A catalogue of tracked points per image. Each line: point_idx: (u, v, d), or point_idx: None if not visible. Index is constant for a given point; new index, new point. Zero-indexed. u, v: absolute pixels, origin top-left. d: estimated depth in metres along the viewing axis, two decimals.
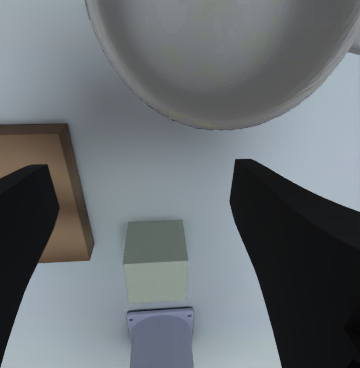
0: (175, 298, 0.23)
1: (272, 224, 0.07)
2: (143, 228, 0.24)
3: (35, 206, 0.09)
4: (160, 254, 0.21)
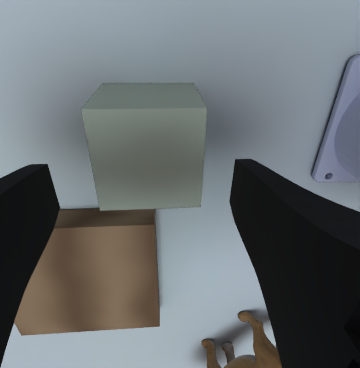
0: (197, 131, 0.11)
1: (272, 224, 0.07)
2: None
3: (35, 206, 0.09)
4: None
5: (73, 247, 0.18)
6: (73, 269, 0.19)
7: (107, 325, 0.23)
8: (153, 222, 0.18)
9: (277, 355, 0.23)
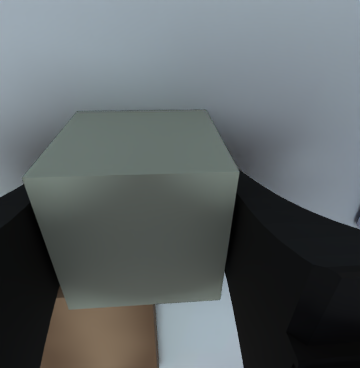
0: (220, 205, 0.07)
1: (236, 226, 0.07)
2: None
3: None
4: None
5: None
6: (48, 343, 0.15)
7: None
8: None
9: None
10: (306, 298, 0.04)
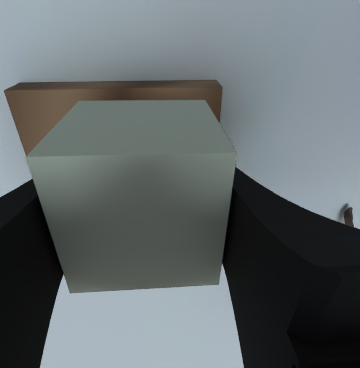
0: (219, 187, 0.07)
1: (236, 226, 0.07)
2: None
3: None
4: None
5: None
6: None
7: None
8: None
9: None
10: (306, 298, 0.04)
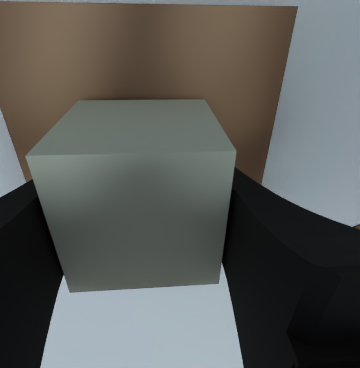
0: (218, 186, 0.07)
1: (236, 226, 0.07)
2: None
3: None
4: None
5: (153, 56, 0.11)
6: None
7: None
8: None
9: None
10: (306, 298, 0.04)
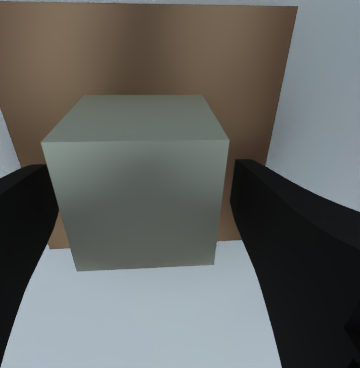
0: (213, 171, 0.08)
1: (272, 224, 0.07)
2: None
3: (35, 206, 0.09)
4: None
5: (153, 56, 0.11)
6: None
7: None
8: None
9: None
10: None
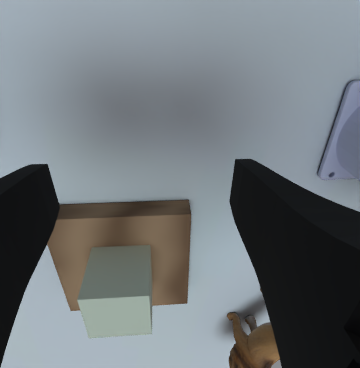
0: (144, 304, 0.19)
1: (272, 224, 0.07)
2: None
3: (35, 206, 0.09)
4: None
5: (124, 233, 0.22)
6: None
7: None
8: (189, 212, 0.22)
9: None
10: None
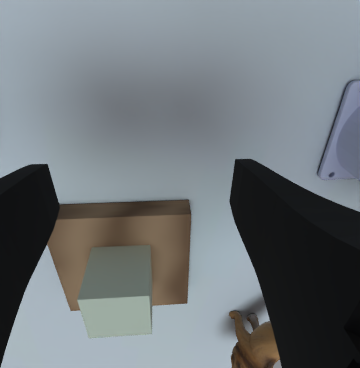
0: (144, 304, 0.19)
1: (272, 224, 0.07)
2: None
3: (35, 206, 0.09)
4: None
5: (124, 233, 0.22)
6: None
7: None
8: (189, 212, 0.22)
9: None
10: None
